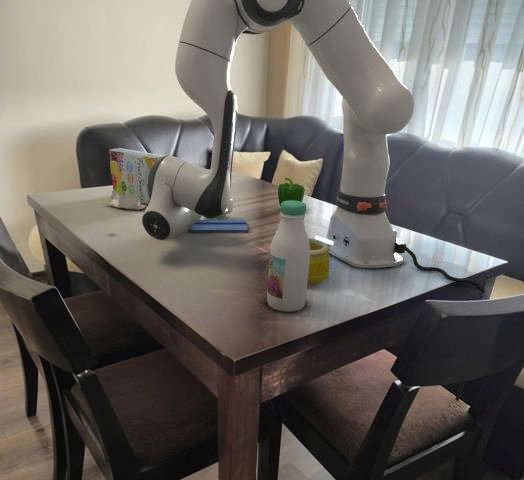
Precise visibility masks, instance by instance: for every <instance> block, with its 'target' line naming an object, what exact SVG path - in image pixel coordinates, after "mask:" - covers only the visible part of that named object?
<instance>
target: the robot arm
mask: <svg viewBox="0 0 524 480" xmlns="http://www.w3.org/2000/svg"><path fill="white" fill-rule="evenodd" d="M285 22H287V23H288V24H290V25H291V26H292V27H294V29H295V30H296V31H298V33H299V35H300V36H301V38H302V40H303V42H304V44H305V45H306V46H307V48H308V50H309V52H310V53H311V55H312V56H313V58H314V60H315V61H316V63H317V65H318V66H319V68H320V70H321V71H322V72H323V74H324V76H325V77H326V79H327V80H328V81H329V82H330V83H331V84H332V86H333V87H334V88H335V89H336V90H337V92H338V93H339V95H341V97H342V99H341V110H342V117H343V118H342V119H343V121H342V122H343V126H342V127H343V128H342V129H343V130H342V131H343V132H342V134H343V135H342V136H343V160H342V161H343V162H342V171H341V178H340V185H339V190H338V191H337V195H336V202H335V203H336V208H335V210H334V211H333V213H332V215H331V216H330V218H329V223H328V229H327V233H326V238H325V237H321V236H319V235H315V237H314V239H317V240H320V241H323V242H325V243H326V244H327V245H328V246H329V251H328V253H329V255H330V254H331V255H332V256H334V257H335V258H338V259H339V260H340V261H343V262H345V263H347V264H349V265H350V266H352V267H355V268H360V269H361V268H362V269H380V268H382V269H383V268H390V267H396V266H400V265H402V264H403V263H404V258H403V257H402V256H401V255H400V254H405V253H407V254H408V255H410V257H411V259H412V263H413V265H414V267H416V269H418V270H420V271H424V272H437V273H440V274H441V275H442V276H443V277H444V278H445V279H447V280H449V281H451V282H455V283H462V284H463V283H464V284H470V285H472V286H475V287H476V288H477V289H478V291H479V292H480V293H483V294H485V293H486V290H485V289H484V287H483V285H482V284H480V283H479V282H478V281H476V280H473V279H470V278H462V277H454V276H452V275H450V274H449V273H448V272H447V271H446V270H445V269H443V268H440V267H436V266H423V265H421V264H419V262H418V259H417V256H416V254H415V253H414V252H413V251H412V250H411V249H410V248H408V247H407V243H406V242H405V241H403V240H402V239H401V238H400V237H397V235H398V234H397V230H396V229H393V227H392V225H391V223H390V221H389V219H388V217H387V215H386V211H387V208H388V207H389V206H388V204H389V202H387V199H386V194H385V191H386V186H387V179H388V175H389V174H388V173H389V169H390V162H391V161H390V155H389V151H388V150H389V149H388V136H391V135H394V134H397V133H399V132H401V131H403V130H404V128H406V127H407V126H408V124H409V123H410V121H411V119H412V117H413V114H414V109H415V100H414V97H413V94H412V93H411V91H410V90H409V88H407V87H406V85H404V84H403V82H402V81H401V80H400V78H399V77H398V75H397V74H396V73H395V71H394V70H393V69H392V67H391V66H390V65H389V63H388V62H387V61H386V59H385V58H384V57H383V55H382V54H381V53H380V52H379V50H378V49H377V47H376V46H375V44H373V42H372V41H371V38H370V37H369V35H368V34H367V32H366V30H365V28H364V26H363V24H362V22H361V21H360V18H359V17H358V15H357V14H356V12H355V10H354V8H353V7H352V5H351V2H350V1H349V0H191V1H190V3H189V5H188V9H187V10H186V14H185V18H184V20H183V23H182V26H181V27H182V28H181V31H180V36H179V40H178V45H177V50H176V55H175V62H174V67H175V68H174V72H175V76H176V79H177V82H178V84H179V86H180V88H181V89H182V91H183V92H184V93H185V94H186V95H187V97H188V98H189V99H190V100H192V101H193V102H194V103H195V104H196V105H197V106H198V107H199V108H200V109H201V110H202V111H203V112H205V114H206V115H207V116H208V118H209V119H210V121H211V124H212V127H213V143H212V150H211V151H212V152H211V153H212V154H211V165H210V169H208V168H204V167H202V166H199V165H196V164H194V163H191V162H189V161H187V160H185V159H182V158H179V157H176V156H173V155H171V154H166V155H164V157H162V158H161V159H160V160H158V161H157V162H156V163H155V164H154V165H153V167H152V168H151V170H150V173H149V177H148V184H147V188H148V195H149V199H150V203H149V204H147V207H145V210H144V212H143V213H142V217H141V223H142V227H143V229H144V231H145V232H146V233H147V234H148V235H149V236H150V237H151V238H153V239H156V240H158V241H169V240H172V239H174V238H176V237H178V236H179V235H181V234H182V233H183V232H185V231H186V230H187V229H189V228H191V226H192V225H194V224H195V223H196V222H198V221H199V220H201V218H202V217H203V218H205V219H207V220H210V218H214V217H222V216H225V215H226V216H227V215H229V214H231V213H232V212H233V205H234V203H233V199H232V198H231V197H232V194H231V193H232V171H233V161H234V152H235V143H236V135H237V123H238V98H237V95H236V94H235V92H234V91H232V87H231V78H230V74H231V66H232V61H233V57H234V53H235V48H236V46H237V43H238V40H239V39H240V36H241V35H242V34H244V35H245V34H246V35H247V34H248V35H261V34H263V33H267V32H270V31H273V30H274V29H276V28H277V27H278V26H279V25H280V24H283V23H285ZM465 384H466V381H465V382H464V383H461V382H460V383H459V386H458V389H457V392H456V395H455V399H454V400H455V401H457V402H459V401H460V398H461V395H462V392H463V389H464V386H465Z"/></svg>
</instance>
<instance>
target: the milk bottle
mask: <svg viewBox="0 0 524 480" xmlns="http://www.w3.org/2000/svg"><path fill="white" fill-rule="evenodd" d="M279 209H280V213H279V215H280V221H279V224H278V227H277V229H276V231H275V233H274V235H273V237H272V239H271V242H270V247H269V257H268V273H267V288H266V289H267V292H266V293H267V294H266V302H267V305H268V306H269V307H270V308H272V309H273V310H275V311H278V312H279V311H280V312H286V313H287V312H289V313H291V312H297V311H299V310H302V309H303V308H304V307H305V305H306V300H307V290H308V285H307V282H308V271H309V260H310V243H309V239H308V238H309V236H308V233H307V231H306V226H305V218H306V213H307V204H306V203H305V202H303V201H302V202H300V201H292V200H290V201H284V202H282V203H281V206H280V205H279Z"/></svg>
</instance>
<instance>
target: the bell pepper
mask: <svg viewBox="0 0 524 480" xmlns="http://www.w3.org/2000/svg"><path fill="white" fill-rule="evenodd" d="M284 180H285V181H288V182H284V183H280V184H279V185H278V187H277V197H278V203H279V207H280V206H281V203H282V202H284V201H290V200H292V201H300V202H303V201H304V197H305V191H306V189H305V186H304V185H301V184H299V183H294V181H293V179H292V178H291V177H289V176H287V177H286V176H285V177H284Z"/></svg>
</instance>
